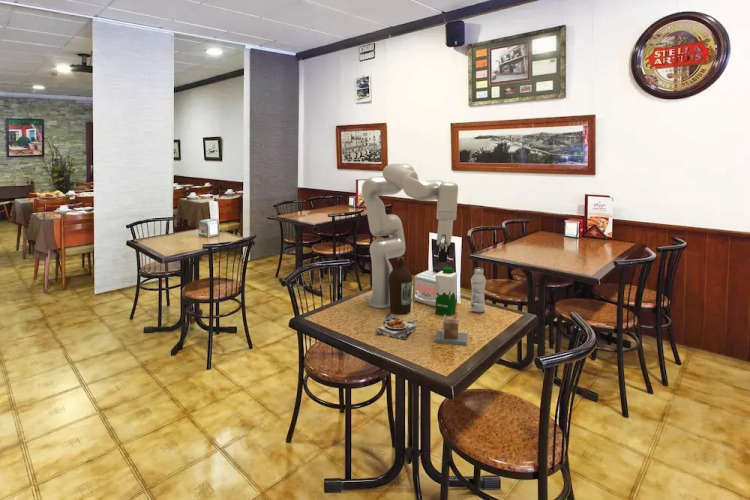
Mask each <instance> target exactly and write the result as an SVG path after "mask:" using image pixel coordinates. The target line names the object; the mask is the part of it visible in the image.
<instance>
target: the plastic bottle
mask: <svg viewBox="0 0 750 500" xmlns="http://www.w3.org/2000/svg"><path fill="white" fill-rule="evenodd" d="M470 283H471V297H470V298H471V300H470V303H469V304H470V305H469V306H470V311H471V312H474V313H483V312H485V309H486V303H485V288H486V284H487V279H486V277H485V275H484V268H483V267H475V268H474V274H473V275H472V277H471V279H470Z"/></svg>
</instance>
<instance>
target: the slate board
mask: <svg viewBox="0 0 750 500" xmlns="http://www.w3.org/2000/svg"><path fill="white" fill-rule="evenodd" d="M468 335H469V333H468V332H459V331H458V339H454V338H444V340H442V330H436V331H435V336H434V339H433V343H437V344H448V345H460V346H468V337H469V336H468Z"/></svg>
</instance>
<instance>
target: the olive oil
mask: <svg viewBox="0 0 750 500" xmlns="http://www.w3.org/2000/svg"><path fill="white" fill-rule="evenodd" d="M412 290H413V274H412V272H411V271H410V270H409V269H408V268H407V266H406V265H405V257H404V256H399V257H396V266H395V267H394V268H392V271H391V273H390V275H389V294H390V308H389V311H390V313H391V314H395V315H407V314H410V313H411V309H412V302H413V298H412V292H413V291H412Z"/></svg>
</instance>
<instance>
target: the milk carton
mask: <svg viewBox="0 0 750 500" xmlns="http://www.w3.org/2000/svg"><path fill="white" fill-rule="evenodd" d="M457 284H458V272H455V271H453V267H452V266H451V267H450V266H445V267H443V270H440V271H439V272H437V273H436V274H435V303H434V305H435V311H434V312H435V314H438V315H443V316H444V315H446V316H449V317H451V316H452V315H453V314H454V313H455V312H456V309H457V293H458V291H457V288H458V285H457Z"/></svg>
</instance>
